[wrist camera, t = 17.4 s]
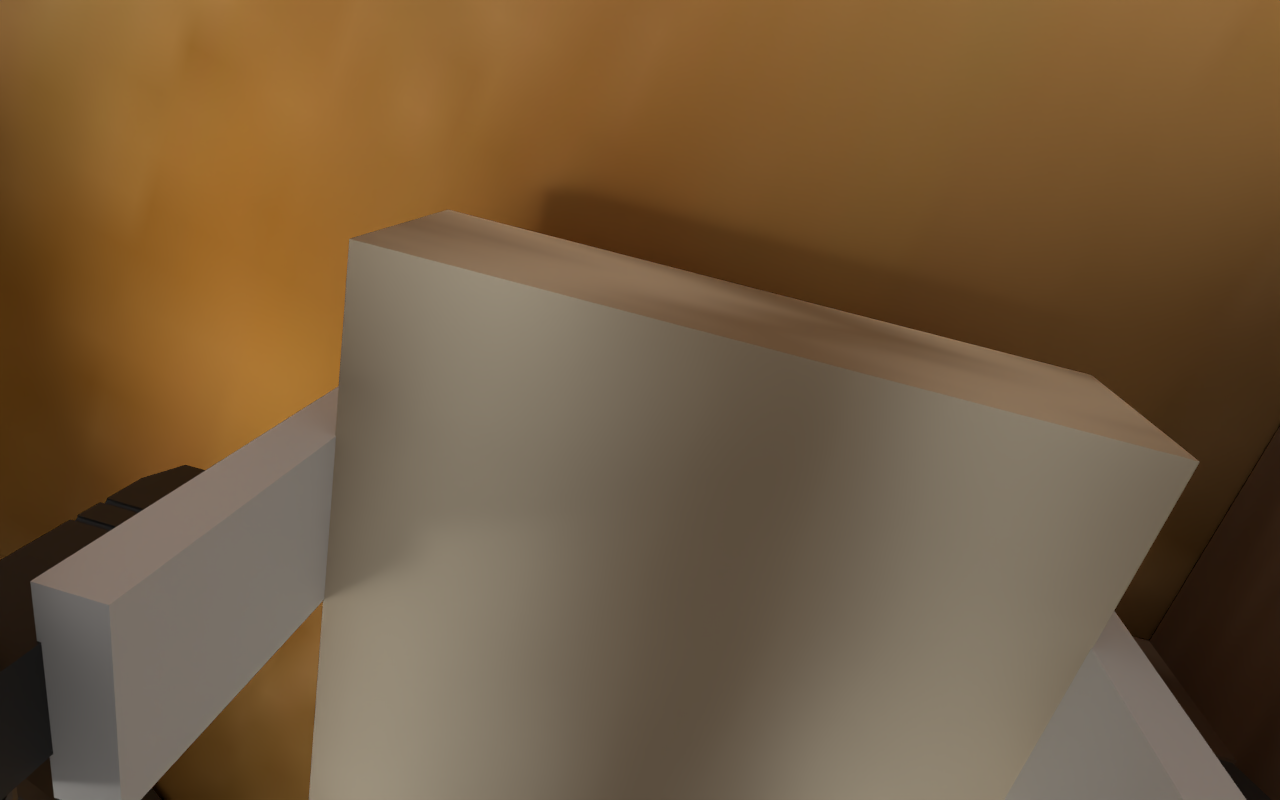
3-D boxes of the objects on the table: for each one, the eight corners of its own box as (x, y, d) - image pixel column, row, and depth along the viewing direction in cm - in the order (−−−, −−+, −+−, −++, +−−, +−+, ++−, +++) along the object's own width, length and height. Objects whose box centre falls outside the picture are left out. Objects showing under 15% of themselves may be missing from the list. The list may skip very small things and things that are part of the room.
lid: (369, 855, 17) (294, 996, 15) (448, 209, 12) (349, 238, 9) (791, 989, 17) (797, 1162, 14) (1090, 374, 11) (1199, 461, 8)
